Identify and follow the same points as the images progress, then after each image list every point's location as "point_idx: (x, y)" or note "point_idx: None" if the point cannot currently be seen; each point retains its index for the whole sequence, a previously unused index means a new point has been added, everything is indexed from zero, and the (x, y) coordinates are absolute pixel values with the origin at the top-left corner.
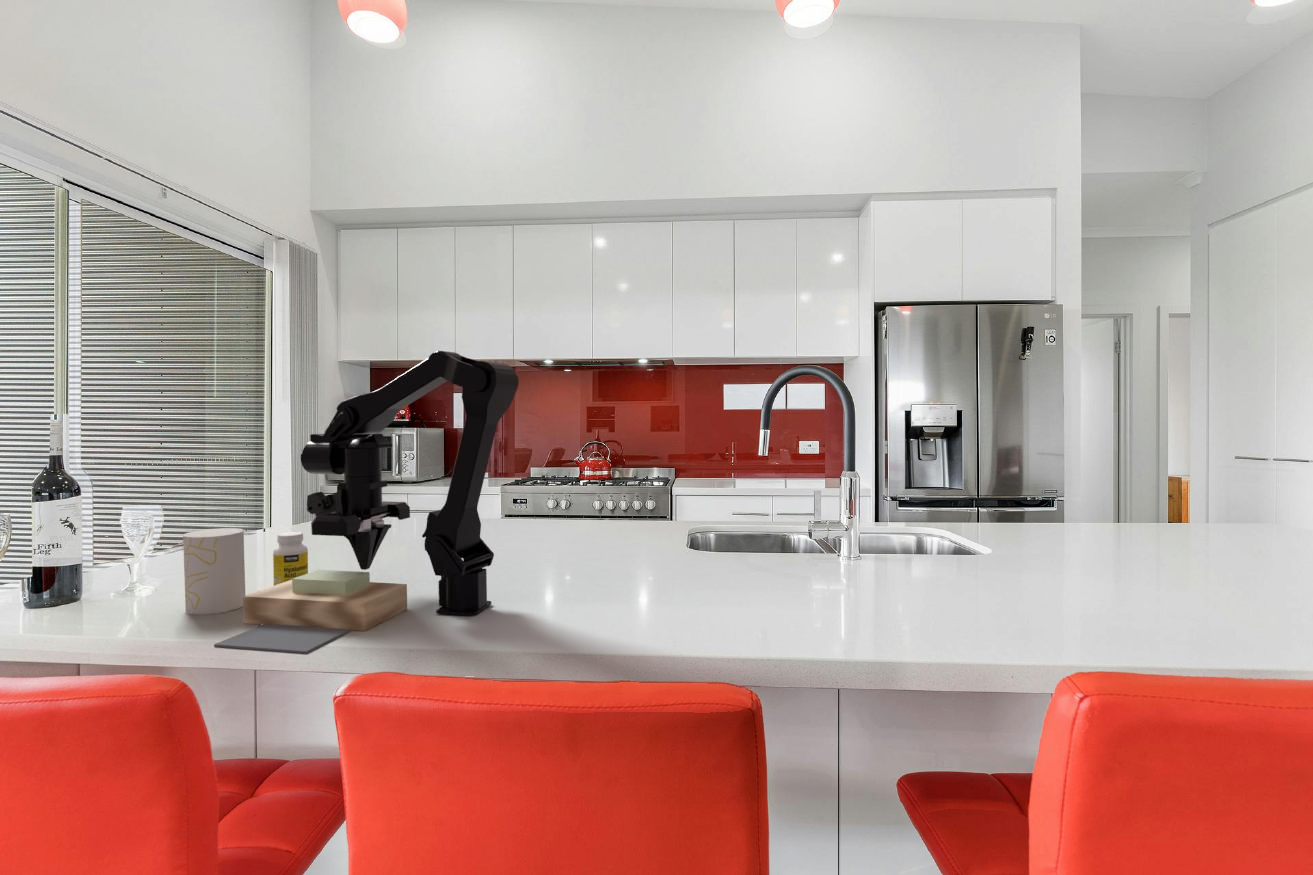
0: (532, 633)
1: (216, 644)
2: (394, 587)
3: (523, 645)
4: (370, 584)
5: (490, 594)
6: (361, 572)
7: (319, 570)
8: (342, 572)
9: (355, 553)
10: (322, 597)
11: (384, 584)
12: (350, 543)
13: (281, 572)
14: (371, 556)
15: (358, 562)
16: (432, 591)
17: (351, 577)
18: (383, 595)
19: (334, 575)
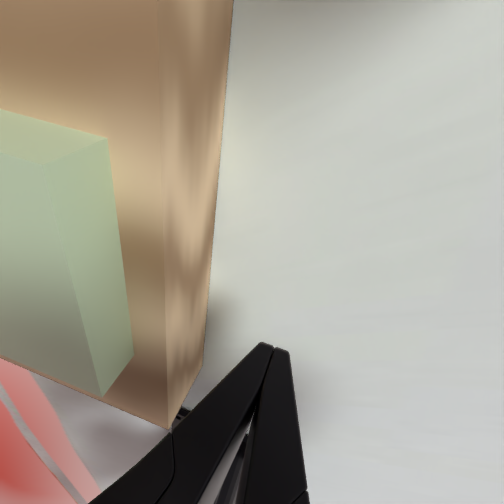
0: (128, 469)
1: None
2: (128, 405)
3: (90, 454)
4: (137, 356)
5: (330, 491)
6: (88, 376)
7: (30, 180)
8: (55, 314)
9: (187, 418)
10: None
11: (149, 388)
12: (99, 496)
13: None
14: (245, 451)
15: (235, 367)
16: (387, 418)
17: (17, 352)
18: (64, 383)
19: (2, 293)
